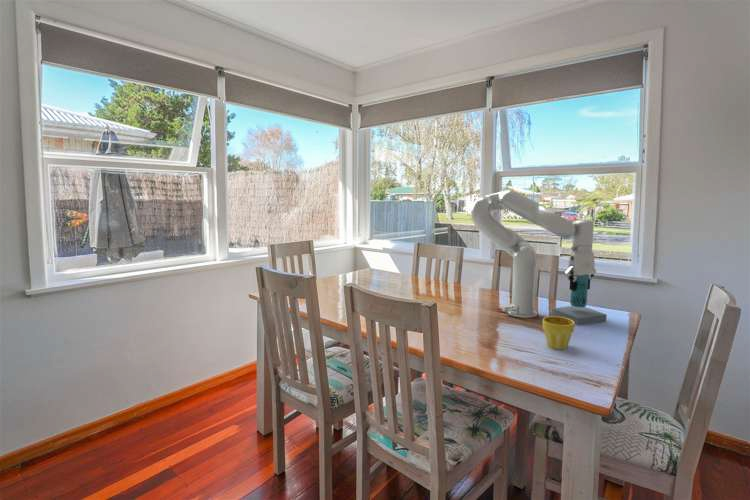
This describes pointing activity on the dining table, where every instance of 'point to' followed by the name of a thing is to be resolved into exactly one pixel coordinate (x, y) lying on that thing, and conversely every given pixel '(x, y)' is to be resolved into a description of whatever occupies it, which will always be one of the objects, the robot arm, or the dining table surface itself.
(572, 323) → the plant pot
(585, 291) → the beverage bottle
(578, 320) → the stand
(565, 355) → the dining table surface
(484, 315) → the dining table surface
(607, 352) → the dining table surface
